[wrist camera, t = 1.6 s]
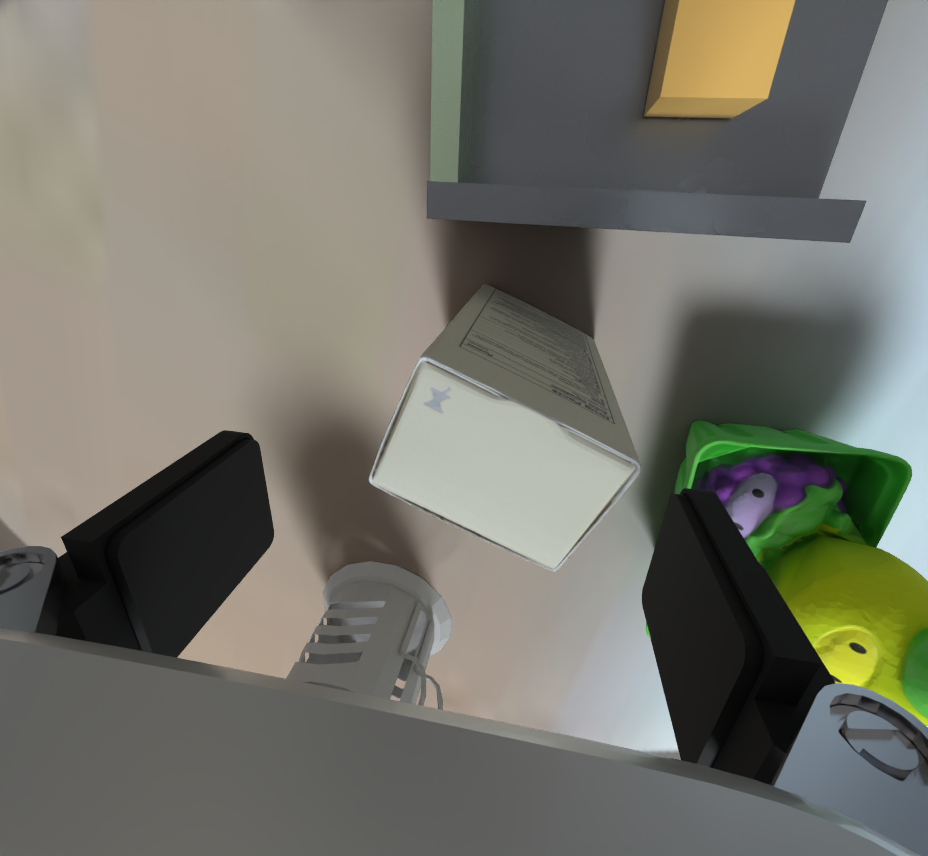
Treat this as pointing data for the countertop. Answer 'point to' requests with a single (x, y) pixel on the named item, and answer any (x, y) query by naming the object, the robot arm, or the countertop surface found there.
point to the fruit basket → (825, 546)
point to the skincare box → (510, 432)
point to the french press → (376, 633)
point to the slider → (716, 56)
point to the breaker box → (634, 123)
